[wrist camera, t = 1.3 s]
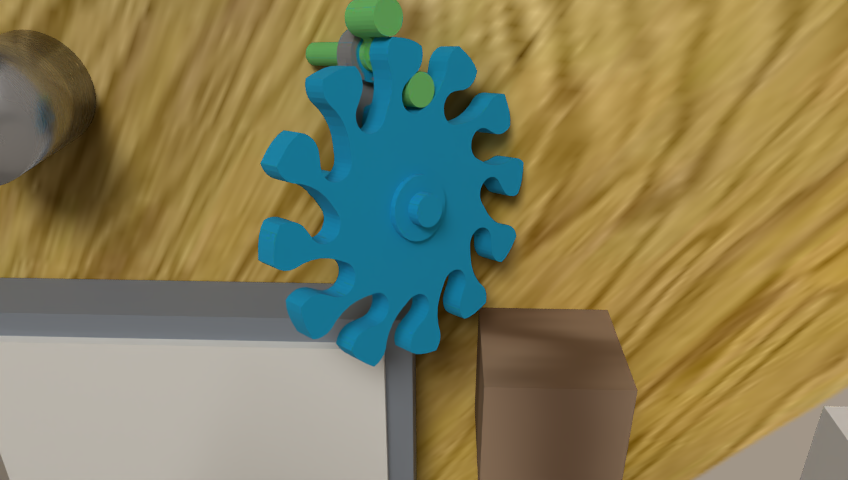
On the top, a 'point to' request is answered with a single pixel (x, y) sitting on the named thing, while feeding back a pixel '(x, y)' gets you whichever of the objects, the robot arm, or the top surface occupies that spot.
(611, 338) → the walnut block
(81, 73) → the steel cylinder
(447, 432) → the top surface
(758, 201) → the top surface
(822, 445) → the robot arm
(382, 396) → the stand
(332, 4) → the top surface
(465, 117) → the gear
